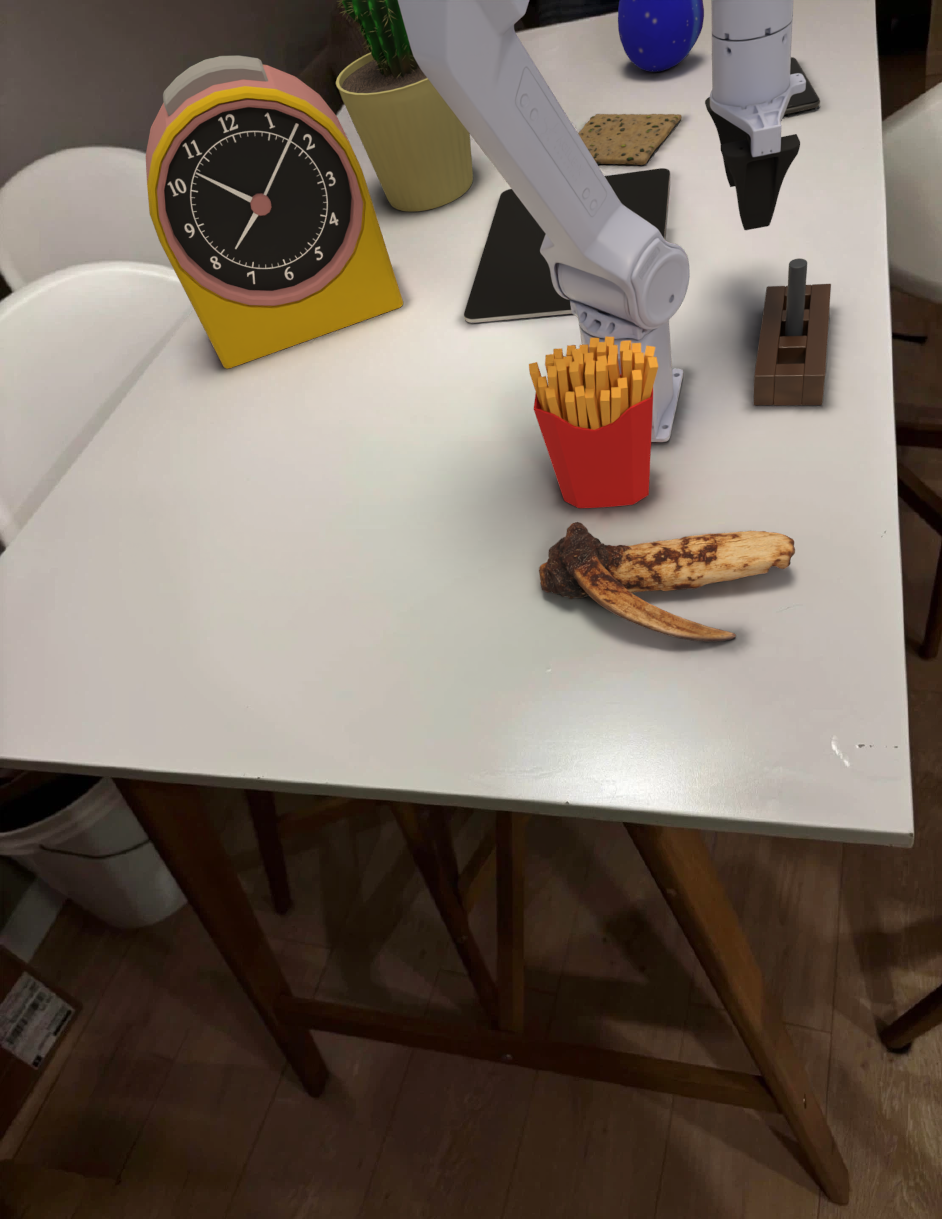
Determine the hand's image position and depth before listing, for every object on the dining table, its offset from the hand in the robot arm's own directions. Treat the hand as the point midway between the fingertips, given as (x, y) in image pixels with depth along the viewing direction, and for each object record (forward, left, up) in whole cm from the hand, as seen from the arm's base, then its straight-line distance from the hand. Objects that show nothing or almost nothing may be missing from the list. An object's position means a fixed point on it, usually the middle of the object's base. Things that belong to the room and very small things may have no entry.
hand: (748, 204), depth 76 cm
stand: (-7, -4, -10) cm, 13 cm away
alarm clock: (+2, +48, -10) cm, 49 cm away
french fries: (-24, +9, -10) cm, 28 cm away
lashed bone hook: (-35, +3, -10) cm, 37 cm away
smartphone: (+47, +1, -10) cm, 48 cm away
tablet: (+14, +20, -10) cm, 26 cm away
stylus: (-7, -4, -10) cm, 13 cm away
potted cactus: (+30, +42, -10) cm, 52 cm away
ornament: (+59, +17, -10) cm, 62 cm away
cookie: (+38, +19, -10) cm, 43 cm away
